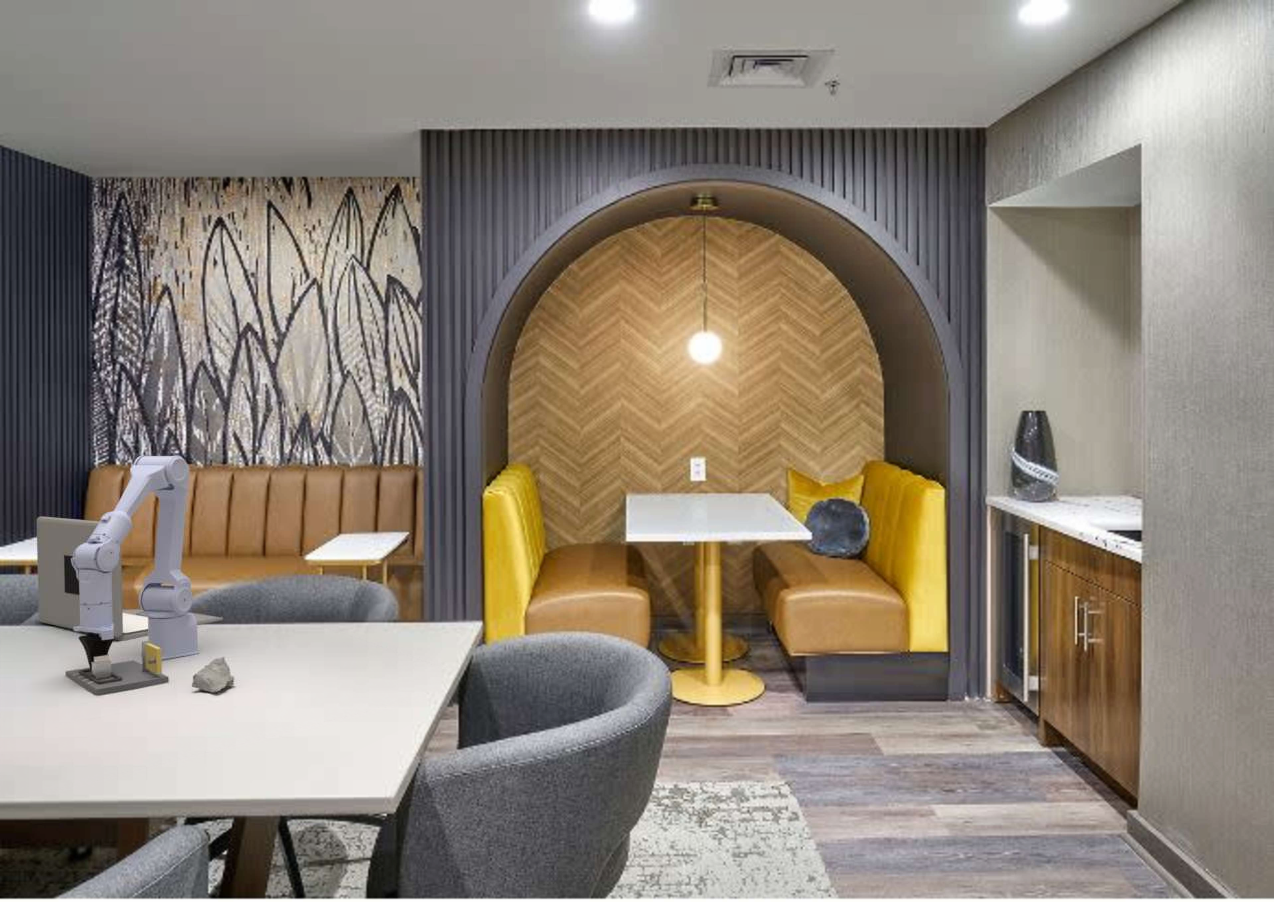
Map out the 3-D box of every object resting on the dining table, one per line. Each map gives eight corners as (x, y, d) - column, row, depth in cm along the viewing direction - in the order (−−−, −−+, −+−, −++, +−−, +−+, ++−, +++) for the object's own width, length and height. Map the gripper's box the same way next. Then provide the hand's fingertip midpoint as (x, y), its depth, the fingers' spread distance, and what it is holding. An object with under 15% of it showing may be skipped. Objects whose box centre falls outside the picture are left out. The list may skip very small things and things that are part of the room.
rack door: (149, 667, 200) (149, 643, 200) (161, 673, 195) (161, 648, 195) (139, 669, 199) (139, 644, 198) (151, 675, 194) (151, 649, 194)
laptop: (225, 627, 252) (223, 514, 251) (116, 648, 228) (113, 523, 227) (145, 613, 271) (143, 508, 270) (37, 631, 247) (34, 516, 247)
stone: (249, 676, 199) (249, 655, 199) (220, 694, 187) (220, 672, 187) (218, 675, 199) (218, 654, 199) (187, 693, 187) (187, 671, 187)
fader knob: (107, 674, 197) (106, 653, 197) (111, 676, 196) (110, 655, 195) (92, 676, 195) (91, 655, 195) (95, 678, 194) (95, 657, 193)
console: (133, 665, 210) (133, 632, 210) (168, 682, 196) (168, 646, 196) (65, 677, 201) (64, 641, 200) (97, 695, 187) (96, 657, 186)
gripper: (63, 600, 199) (64, 667, 199) (85, 610, 189) (86, 680, 189) (101, 596, 204) (102, 661, 204) (124, 605, 194) (126, 673, 194)
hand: (97, 670), depth 197 cm, fingers closed
